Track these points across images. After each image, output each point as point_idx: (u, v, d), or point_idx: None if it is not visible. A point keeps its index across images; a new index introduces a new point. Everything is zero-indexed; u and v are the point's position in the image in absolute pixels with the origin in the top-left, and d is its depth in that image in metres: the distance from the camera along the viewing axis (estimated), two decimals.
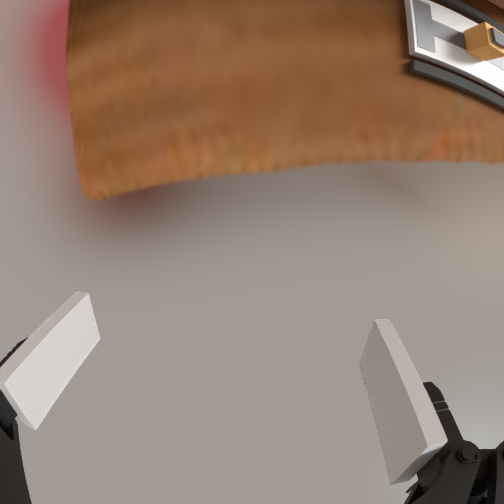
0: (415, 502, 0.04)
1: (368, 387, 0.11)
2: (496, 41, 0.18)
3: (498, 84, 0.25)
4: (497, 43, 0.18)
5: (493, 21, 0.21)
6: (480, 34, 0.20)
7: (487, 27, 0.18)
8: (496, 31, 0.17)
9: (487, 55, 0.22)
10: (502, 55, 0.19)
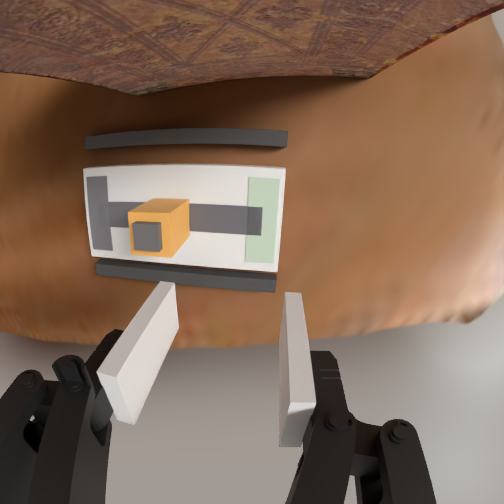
0: (297, 476, 0.06)
1: (280, 356, 0.13)
2: (137, 249, 0.24)
3: (219, 262, 0.31)
4: None
5: (239, 133, 0.27)
6: None
7: (131, 221, 0.24)
8: (139, 228, 0.23)
9: None
10: None
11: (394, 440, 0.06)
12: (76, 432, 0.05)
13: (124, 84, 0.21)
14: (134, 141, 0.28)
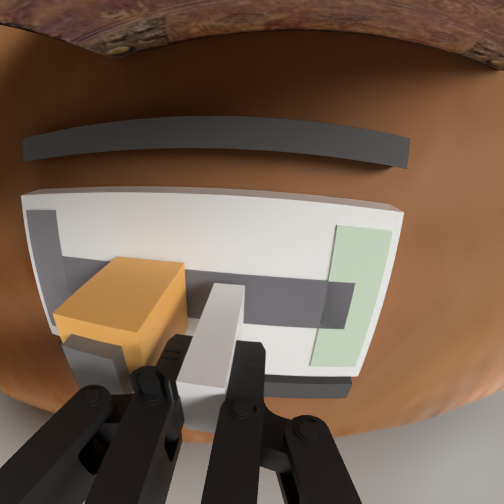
0: None
1: None
2: None
3: (265, 367, 0.17)
4: None
5: (320, 133, 0.12)
6: None
7: (63, 331, 0.09)
8: (76, 357, 0.09)
9: None
10: None
11: (302, 437, 0.06)
12: (149, 451, 0.06)
13: (71, 18, 0.06)
14: (99, 143, 0.13)
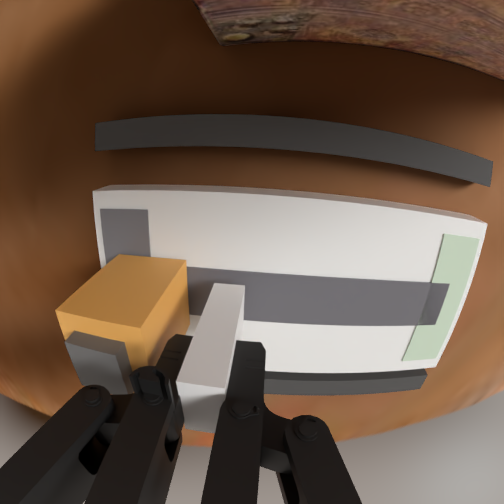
0: None
1: None
2: (87, 383, 0.10)
3: (364, 366, 0.17)
4: None
5: (435, 152, 0.12)
6: None
7: (66, 328, 0.10)
8: (79, 353, 0.09)
9: None
10: None
11: (302, 438, 0.06)
12: (149, 451, 0.06)
13: None
14: (216, 137, 0.13)
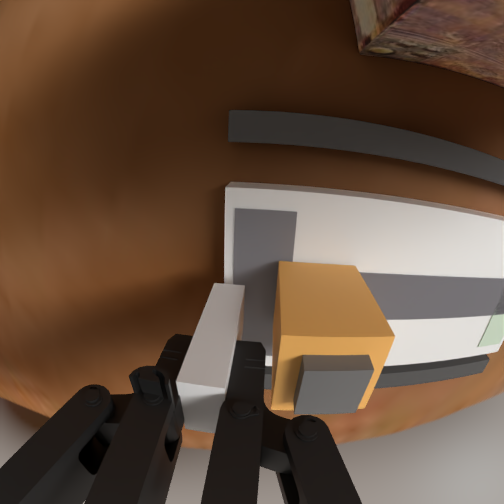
0: None
1: None
2: (301, 411, 0.09)
3: (451, 353, 0.17)
4: None
5: None
6: (276, 344, 0.11)
7: (288, 354, 0.09)
8: (320, 379, 0.09)
9: None
10: None
11: (302, 438, 0.06)
12: (149, 451, 0.06)
13: (441, 20, 0.06)
14: (369, 145, 0.13)
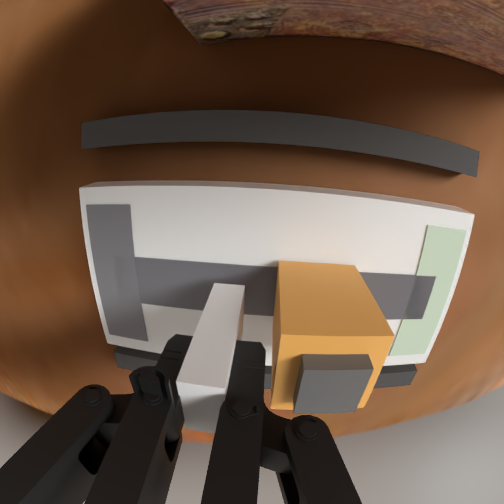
0: None
1: None
2: (300, 410, 0.09)
3: None
4: None
5: (416, 142, 0.12)
6: (275, 343, 0.11)
7: (288, 354, 0.09)
8: (320, 379, 0.09)
9: None
10: None
11: (302, 437, 0.06)
12: (149, 451, 0.06)
13: None
14: (194, 132, 0.13)
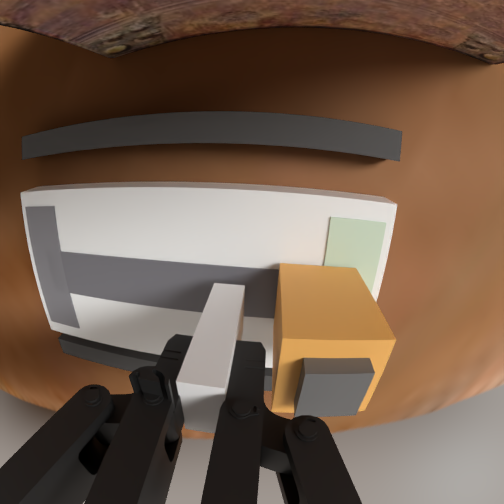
0: None
1: None
2: (301, 414, 0.09)
3: None
4: None
5: (312, 126, 0.13)
6: (276, 346, 0.11)
7: (289, 357, 0.09)
8: (321, 382, 0.09)
9: None
10: None
11: (302, 438, 0.06)
12: (149, 451, 0.06)
13: (68, 18, 0.07)
14: (97, 140, 0.13)
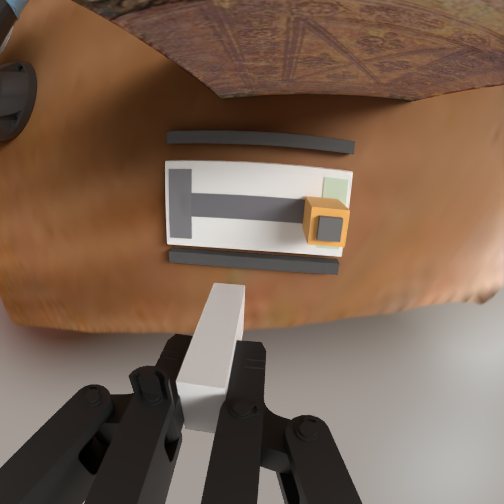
0: None
1: None
2: (319, 239, 0.29)
3: (294, 248, 0.37)
4: None
5: (317, 140, 0.32)
6: (307, 220, 0.31)
7: (314, 215, 0.28)
8: (325, 221, 0.28)
9: None
10: None
11: (302, 438, 0.06)
12: (149, 451, 0.06)
13: (227, 88, 0.26)
14: (221, 139, 0.33)
